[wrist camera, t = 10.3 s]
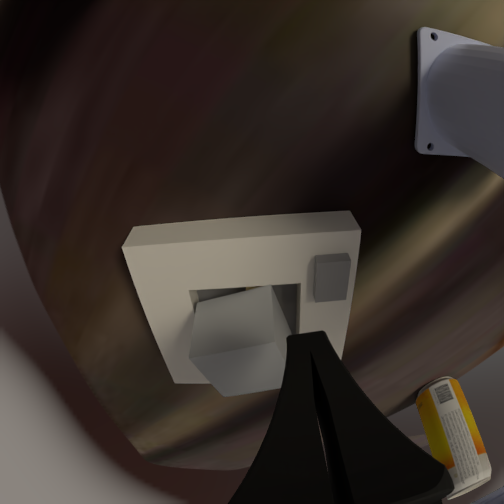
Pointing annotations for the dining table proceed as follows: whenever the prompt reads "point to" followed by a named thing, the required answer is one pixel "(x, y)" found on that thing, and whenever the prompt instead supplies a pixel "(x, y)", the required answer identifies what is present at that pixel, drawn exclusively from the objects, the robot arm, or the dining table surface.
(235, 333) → the plug
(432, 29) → the robot arm
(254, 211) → the dining table surface
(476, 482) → the yellow supplement bottle
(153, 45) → the dining table surface
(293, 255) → the socket
